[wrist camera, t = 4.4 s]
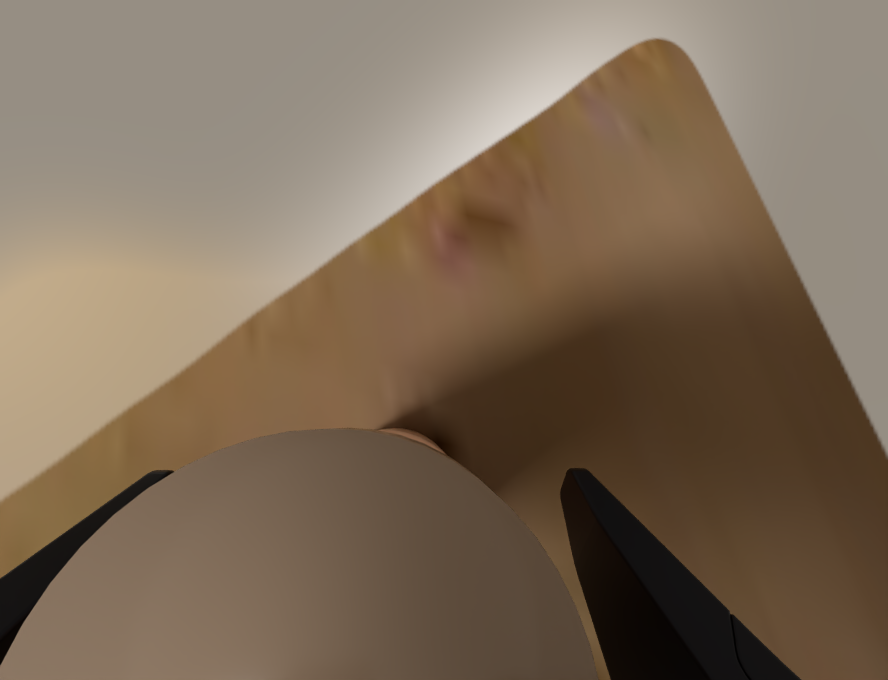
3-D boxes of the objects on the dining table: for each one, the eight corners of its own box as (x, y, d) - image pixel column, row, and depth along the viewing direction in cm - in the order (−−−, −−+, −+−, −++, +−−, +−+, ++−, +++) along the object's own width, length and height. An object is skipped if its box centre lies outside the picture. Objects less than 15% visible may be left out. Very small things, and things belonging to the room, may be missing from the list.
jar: (481, 466, 15) (693, 607, 4) (416, 591, 14) (409, 1431, 2) (373, 402, 15) (237, 334, 4) (300, 519, 14) (-223, 945, 3)
